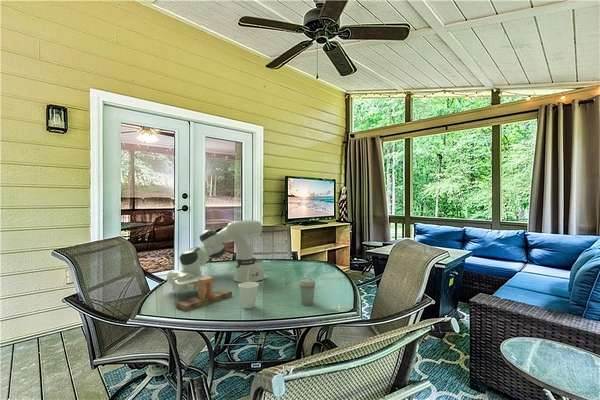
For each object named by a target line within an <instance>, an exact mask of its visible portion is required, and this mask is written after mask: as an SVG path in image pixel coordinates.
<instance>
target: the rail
mask: <svg viewBox="0 0 600 400" xmlns="http://www.w3.org/2000/svg"><path fill="white" fill-rule="evenodd" d="M230 297H233V291H231V290H228V289H224V288H221V289H218V290H214V291H213V292H212V297H207V296H206V293H205V299H204V300H201V299H199V295H196V296H195V297H190V298H187V299H183V300H180V301H177V302H175V304H176V305H175V308H176V309H179V310H181V311H184V312H188V311H191V310H194V309H198V308H200V307H203V306H207V305H210V304H212V303H215V302H218V301H222V300H224V299H228V298H230Z"/></svg>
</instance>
